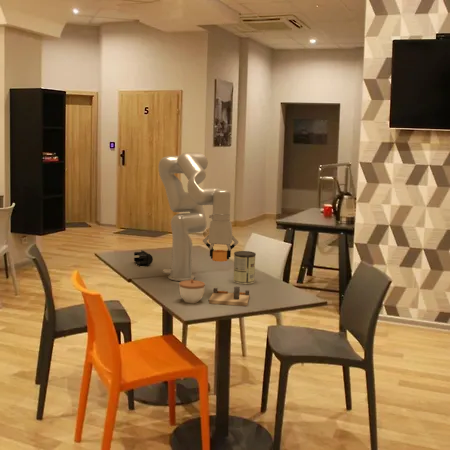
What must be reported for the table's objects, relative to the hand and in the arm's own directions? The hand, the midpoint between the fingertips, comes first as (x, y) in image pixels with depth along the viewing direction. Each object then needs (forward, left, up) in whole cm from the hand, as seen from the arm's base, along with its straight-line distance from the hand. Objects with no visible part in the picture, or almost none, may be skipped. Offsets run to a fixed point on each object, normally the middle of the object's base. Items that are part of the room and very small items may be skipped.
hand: (220, 258), depth 280 cm
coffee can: (+9, +26, -16) cm, 32 cm away
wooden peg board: (+6, -9, -16) cm, 20 cm away
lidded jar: (-10, -14, -16) cm, 24 cm away
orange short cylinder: (0, 0, -1) cm, 1 cm away
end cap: (-46, +49, -16) cm, 69 cm away
